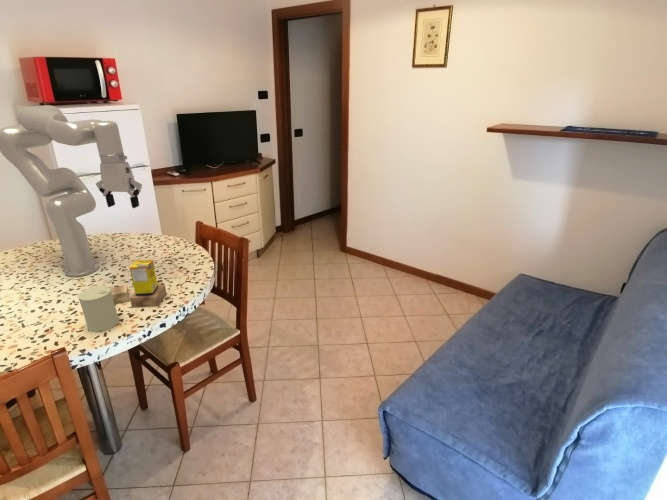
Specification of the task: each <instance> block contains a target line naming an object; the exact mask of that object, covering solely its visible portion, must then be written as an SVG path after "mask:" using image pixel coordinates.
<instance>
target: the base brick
mask: <svg viewBox="0 0 667 500" xmlns="http://www.w3.org/2000/svg"><path fill="white" fill-rule="evenodd" d="M166 295H167V289H166V284H158V288H157V289H156V291H155V292H154V294H153V295H136V294H135V291H134V292H133V294H131V296H129V302H130V305H131V309H132V308H151V307H152V308H153V307H159V306H160V304H161V303H162V301H163V300H164V299H165V297H166Z"/></svg>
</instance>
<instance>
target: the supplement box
mask: <svg viewBox="0 0 667 500" xmlns="http://www.w3.org/2000/svg"><path fill="white" fill-rule="evenodd" d="M129 271H130V272H129V273H130V276H131V279H132V280H131V281H132V286H133V289H134V292H135V294H136V295H153V294H154V292H155V291H156V289H157V288H158V285H159V284H158V279H157V276H156V275H157V273H156V269H155V265H154V260H153V259H141V260H137V259H136V260H134V262H133V263H132V264H131V265H130V266H129Z"/></svg>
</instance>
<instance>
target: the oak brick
mask: <svg viewBox="0 0 667 500" xmlns="http://www.w3.org/2000/svg"><path fill="white" fill-rule="evenodd" d="M110 288H111V293H112V297H113V301H114V304H115V305H118V304H123V303H128V302H130V292H129V288H128V284H124V285H119V286H113V287H110Z"/></svg>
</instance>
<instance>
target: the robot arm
mask: <svg viewBox="0 0 667 500" xmlns="http://www.w3.org/2000/svg"><path fill="white" fill-rule="evenodd" d="M16 121H17V122H18V123H17V124H18V125H17V124H16V125H10V126H6V127H2V128H0V153H1V155H2V156H3V157H4V158H5V159H6V160H8V162H10V164H12V166H14V167H15V168H16V170H18V171H19V172H20V173H21V176H22V177H24V179H25V180H26V181H27V183H29V185H30V186H31V188H32V189H33V190H34V192H36V194H38V195H39V196H40V197H43V198H49V197H53V196H55V197H53V198H50V199H49V200H47V203H46V205H45V211H46V213H47V215H48V217H49V219H50V220H51V223H52V224H53V227H54V229H55V232H56V234H57V238H58V241H59V244H60V249H61V252H62V254H63V257H64V258H62V259H61V262H60V263H59V266H61V267H65V269H64V270H63V274H64V275H65V276H66V277H70V278H71V277H72V278H74V277H76V278H77V277H83V276H87V275H90V274H93V273H95V272H96V271H98V270H99V268H100V264H99V262H98V261H97V262H96V261H94V258H93V253H92V250H91V246H90V244H89V240H88V235H87V233H86V230H85V227H84V225H83V224H82V223H81V222H79V221H78V220H77V218H79V217H81V216H85V215H86V214H89V213H92V212H93V211H94V210H95V209H96V207H97V202H96V200H95V197H94V195H93V194H92V193H91V192H90V190H89V189H88V188H87V186H86V185H85V183H84V182H83V181H82V179H80V177H79V176H78V175H77V173H75V172H74V171H73V170H72V169H70V168H67V167H58V168H57V167H56V168H53V169H51V168H49V167H48V165H46V164H45V162H44V160H42V159H41V158H40V157H39V156H37V155H36V154H34V153H32V152H30V151H28V150H27V149H32V148H37V147H38V148H39V147H43V146H47V145H49V144H50V143H52V142H53V141H54V142H56V143H58V144H62V145H66V146H71V147H77V146H84V145H90V144H96V148H97V150H98V151H97V152H98V155H99V159H100V160H99V161H100V163H99V170H100V179H101V180H99V181H97V182H96V183H95V186H96V187H97V188H98V190H99V192H100V193H102V196H103V197H105V201H106V205H107V207H108V208H111V207H114V206H115V205H116V202H115V198H114V195H113V193H112V192H114V193H115V192H116V193H127V194H129V200H130V204H131V208H132V209H136V208H139V207H140V202H139V197H138V196H139V194H140V193H141V191H142V188H143V187H142V186H143V185H142V184H143V183H140V182H138V181H136V180H135V177H134V174H133V170H132V168H131V165H130V164H129V161H126V160H127V159H128V156H127V155H125V151H124V147H123V143H122V141H121V139H122V138H121V134H120V130H119V125H118V124H117V122H116V121H113V120H101V119H93V118H92V119H85V120H76V121H69V120H68V119H67V117H66V116H65V115H64V114H63V112H62V111H61V110H60V108H58V107H56V106H55V105H49V104H48V105H47V104H46V105H36V106H34V105H33V106H26V107H23V108H21V109H20V110H19V111H18V112H17V115H16ZM60 194H61V195H60ZM57 195H58V196H57Z"/></svg>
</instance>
